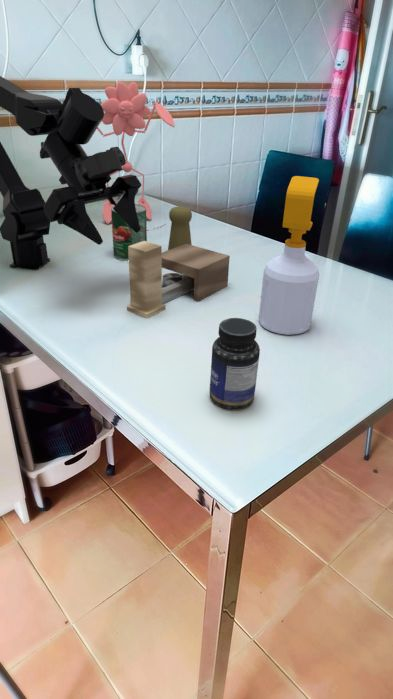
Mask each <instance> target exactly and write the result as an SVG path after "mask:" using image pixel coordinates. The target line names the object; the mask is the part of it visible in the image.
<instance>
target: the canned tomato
mask: <svg viewBox="0 0 393 699" xmlns="http://www.w3.org/2000/svg"><path fill="white" fill-rule="evenodd" d="M114 207H115V206H112V207H111V217H112V221H111V232H112V234H111V235H112V248H113V249H112V250H113V257H114V258H115V259H116V260H119V259H120V261H125V260H129V256H128V246H131V245H133V244H136V243H139V242H142V241H146V242H148V237H147V231H148V229H147V228H148V227H147V217H146V207H145V206H143V205H139V203H138V204H137V203H135V208H136V212H137V216H138V220H139V225H140V229H141V230H140V231H139V232H138V233H136V232H135V231H134V230H133V229H131V228H130V226H129V225H128V224H127V223H126V222H125V221H124V220H123V219H122V218H121V217H120V216H119V215H118V214H117V213H116V212H115V210H114V209H113V208H114Z"/></svg>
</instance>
